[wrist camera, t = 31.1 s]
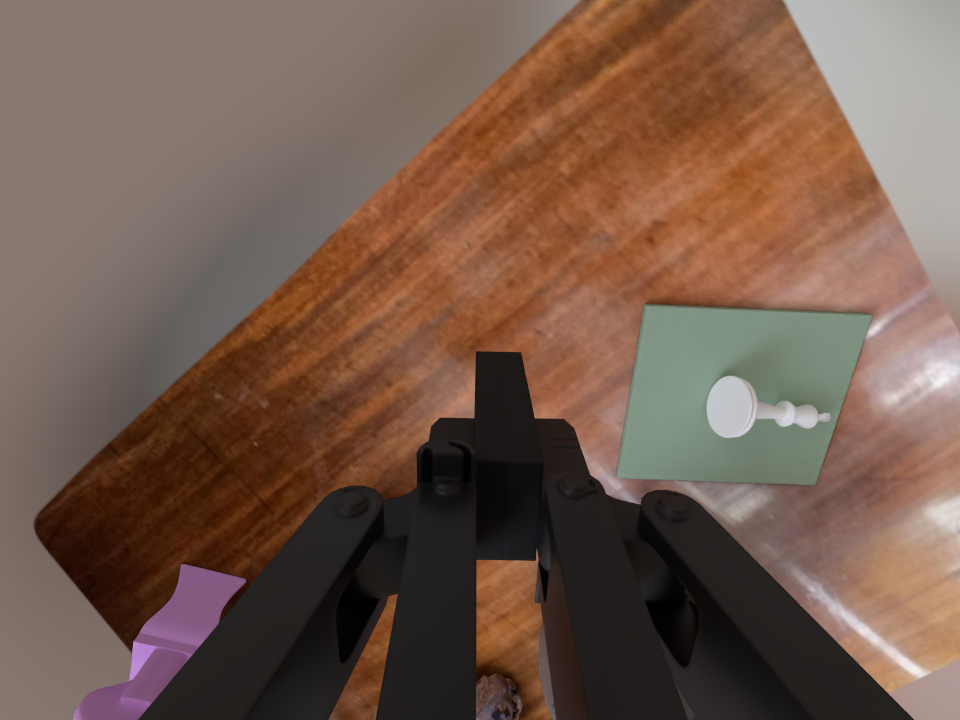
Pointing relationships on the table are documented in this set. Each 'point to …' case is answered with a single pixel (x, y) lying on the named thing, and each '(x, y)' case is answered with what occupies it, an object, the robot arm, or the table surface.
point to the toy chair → (165, 644)
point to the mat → (745, 354)
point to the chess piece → (752, 409)
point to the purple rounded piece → (497, 699)
